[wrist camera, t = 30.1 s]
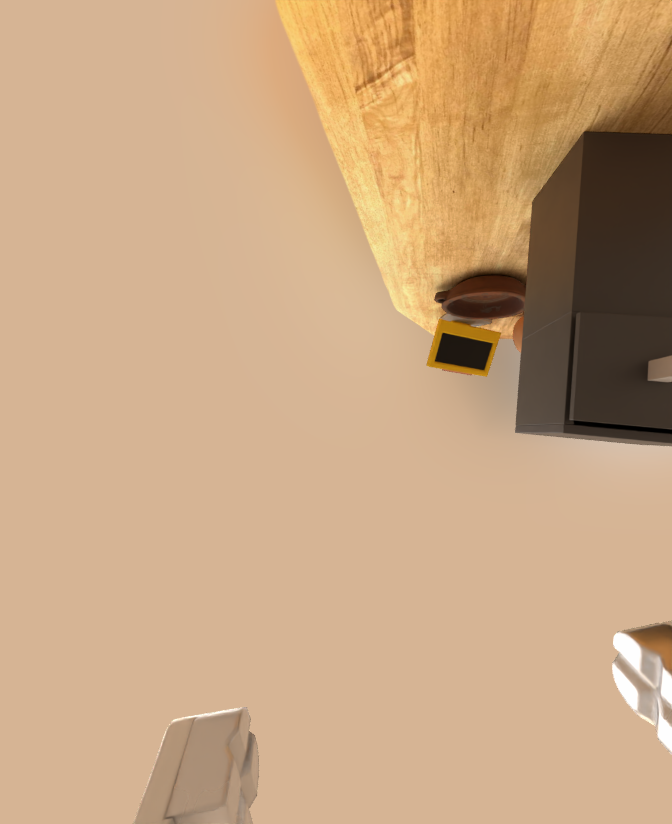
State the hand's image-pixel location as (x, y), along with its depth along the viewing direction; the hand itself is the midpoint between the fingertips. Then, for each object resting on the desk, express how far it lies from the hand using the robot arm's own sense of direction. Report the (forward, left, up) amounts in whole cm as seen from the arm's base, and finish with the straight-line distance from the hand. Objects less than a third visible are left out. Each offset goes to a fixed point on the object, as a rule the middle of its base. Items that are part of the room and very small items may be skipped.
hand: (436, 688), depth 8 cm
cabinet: (+17, +43, -40) cm, 61 cm away
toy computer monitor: (+67, +71, -40) cm, 106 cm away
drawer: (+12, +39, -20) cm, 46 cm away
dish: (+49, +58, -40) cm, 86 cm away
